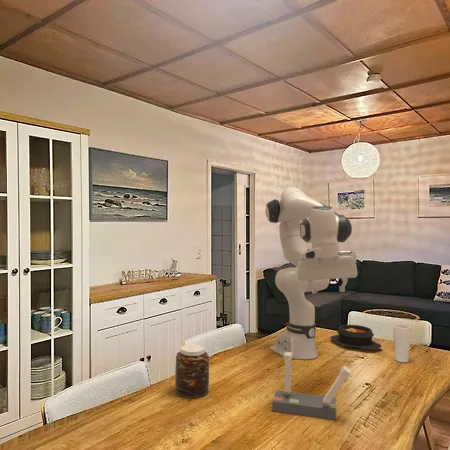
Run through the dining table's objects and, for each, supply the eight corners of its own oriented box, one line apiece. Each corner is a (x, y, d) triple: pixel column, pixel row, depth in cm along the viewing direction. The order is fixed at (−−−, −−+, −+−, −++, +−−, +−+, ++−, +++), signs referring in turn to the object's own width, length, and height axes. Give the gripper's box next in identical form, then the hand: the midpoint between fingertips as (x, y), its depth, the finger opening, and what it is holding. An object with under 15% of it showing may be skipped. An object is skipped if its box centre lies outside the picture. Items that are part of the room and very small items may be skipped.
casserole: (389, 348, 191) (389, 331, 191) (367, 356, 179) (367, 337, 179) (344, 336, 210) (344, 320, 210) (321, 342, 199) (322, 325, 199)
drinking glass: (412, 364, 169) (412, 328, 169) (394, 362, 171) (395, 327, 171) (408, 359, 176) (408, 324, 176) (391, 357, 177) (392, 323, 177)
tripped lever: (284, 391, 132) (285, 351, 132) (291, 392, 131) (292, 352, 131) (283, 396, 128) (283, 355, 128) (290, 397, 128) (290, 355, 128)
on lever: (321, 399, 125) (343, 365, 123) (327, 403, 124) (350, 369, 122) (320, 404, 121) (344, 369, 119) (327, 409, 121) (350, 373, 119)
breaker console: (276, 399, 134) (276, 389, 134) (335, 406, 129) (335, 397, 129) (272, 411, 125) (272, 401, 125) (335, 420, 120) (335, 409, 120)
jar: (213, 387, 142) (214, 345, 142) (201, 401, 131) (201, 355, 131) (183, 382, 146) (184, 341, 146) (168, 395, 135) (169, 350, 135)
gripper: (353, 250, 142) (356, 289, 142) (295, 253, 143) (297, 292, 142) (358, 250, 136) (361, 291, 135) (297, 254, 137) (300, 295, 136)
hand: (328, 292), depth 139 cm, fingers open, 8 cm apart
